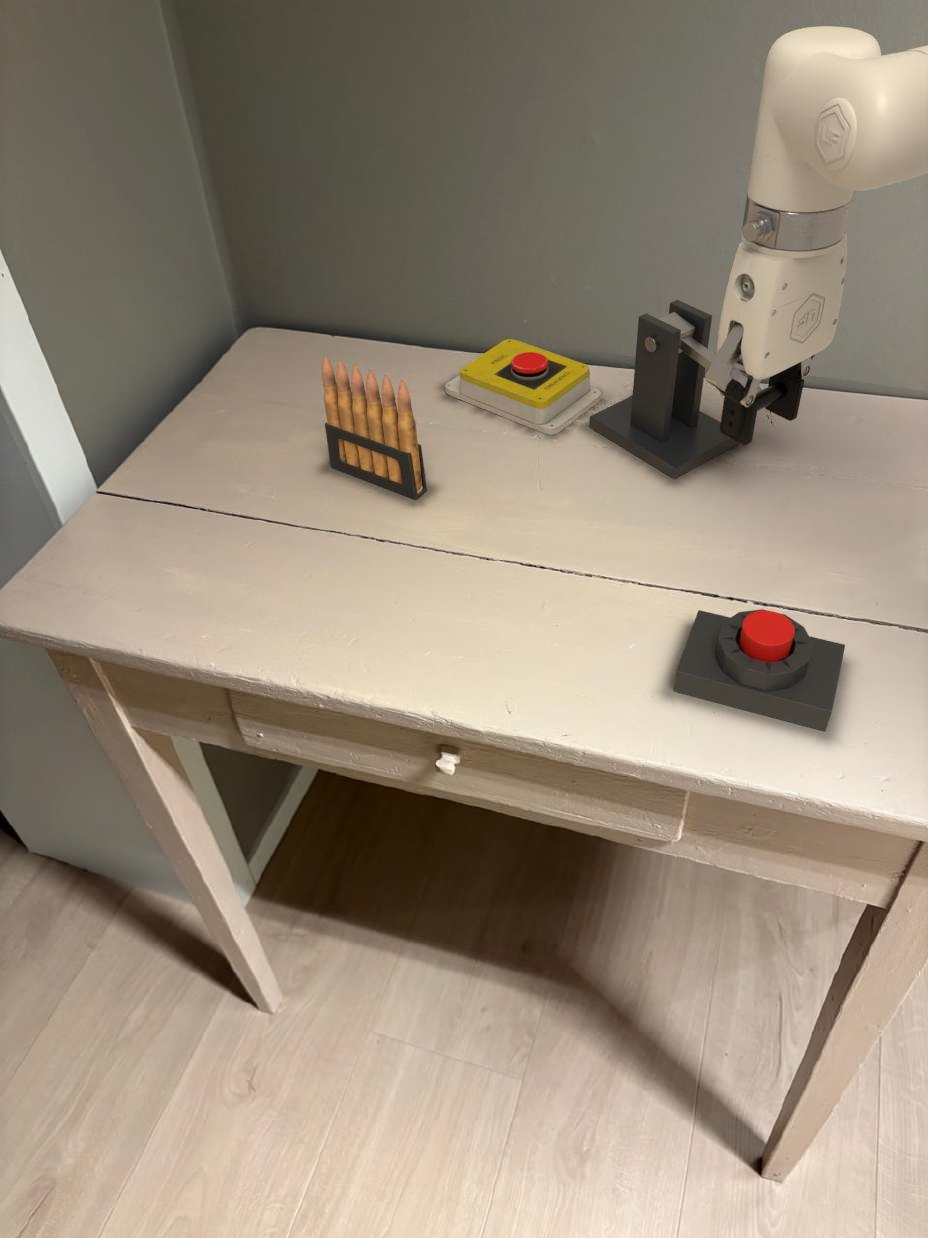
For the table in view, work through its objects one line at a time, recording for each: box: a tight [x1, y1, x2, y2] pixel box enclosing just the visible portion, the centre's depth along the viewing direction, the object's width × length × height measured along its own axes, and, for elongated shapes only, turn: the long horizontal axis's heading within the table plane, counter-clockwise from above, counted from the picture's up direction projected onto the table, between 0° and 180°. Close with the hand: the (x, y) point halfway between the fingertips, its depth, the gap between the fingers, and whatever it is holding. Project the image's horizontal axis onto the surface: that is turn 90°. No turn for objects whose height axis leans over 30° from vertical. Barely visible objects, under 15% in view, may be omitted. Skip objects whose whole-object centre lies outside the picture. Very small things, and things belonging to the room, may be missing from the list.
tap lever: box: [658, 312, 787, 412], centre depth 86 cm, size 13×5×2 cm, turn 37°
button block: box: [673, 608, 846, 732], centre depth 71 cm, size 11×7×4 cm, turn 67°
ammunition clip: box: [321, 355, 428, 501], centre depth 89 cm, size 11×2×12 cm, turn 55°
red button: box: [739, 609, 795, 662], centre depth 69 cm, size 4×4×2 cm
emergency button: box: [444, 338, 602, 436], centre depth 102 cm, size 9×4×15 cm
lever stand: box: [588, 299, 740, 480], centre depth 92 cm, size 12×9×13 cm
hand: (758, 423), depth 85 cm, fingers closed on tap lever, 5 cm apart
